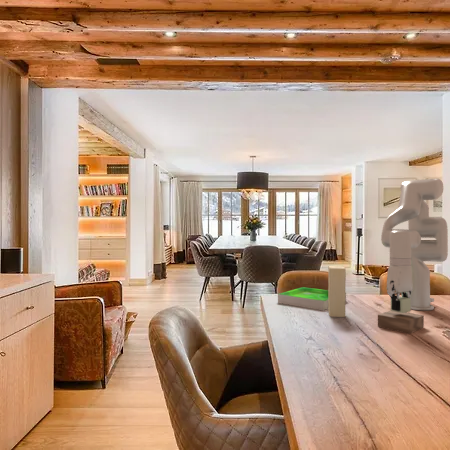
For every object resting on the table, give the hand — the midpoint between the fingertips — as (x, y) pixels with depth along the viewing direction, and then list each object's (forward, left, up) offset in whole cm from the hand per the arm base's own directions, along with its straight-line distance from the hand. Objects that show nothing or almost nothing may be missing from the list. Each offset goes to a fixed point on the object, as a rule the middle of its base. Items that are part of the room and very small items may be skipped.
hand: (400, 309), depth 142 cm
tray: (-3, -51, -8) cm, 52 cm away
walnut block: (0, 0, -7) cm, 7 cm away
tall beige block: (+6, -26, -7) cm, 28 cm away
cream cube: (0, 0, -1) cm, 1 cm away
